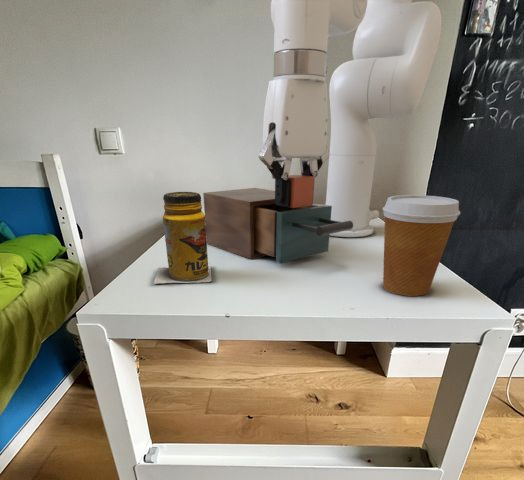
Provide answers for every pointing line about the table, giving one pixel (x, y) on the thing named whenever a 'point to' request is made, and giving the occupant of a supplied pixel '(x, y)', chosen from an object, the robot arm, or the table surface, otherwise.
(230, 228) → the cabinet
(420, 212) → the disposable coffee cup
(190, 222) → the condiment
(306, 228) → the drawer
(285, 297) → the table surface
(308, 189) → the block
